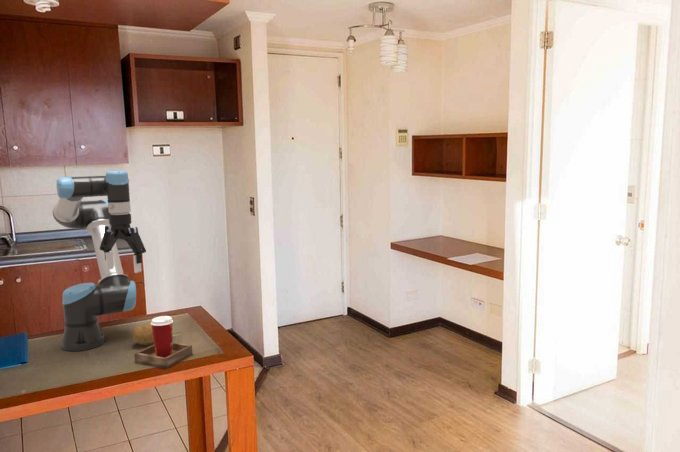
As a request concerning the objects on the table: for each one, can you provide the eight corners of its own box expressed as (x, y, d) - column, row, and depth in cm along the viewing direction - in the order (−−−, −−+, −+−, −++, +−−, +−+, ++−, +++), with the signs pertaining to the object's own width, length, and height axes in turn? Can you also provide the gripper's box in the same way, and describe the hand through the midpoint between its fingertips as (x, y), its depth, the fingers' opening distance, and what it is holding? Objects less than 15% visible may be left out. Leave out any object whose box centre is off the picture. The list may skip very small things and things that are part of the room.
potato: (174, 341, 214) (172, 321, 213) (140, 351, 204) (138, 330, 203) (161, 335, 221) (160, 316, 220) (128, 345, 211) (126, 325, 209)
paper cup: (179, 355, 197) (177, 317, 195) (161, 361, 191) (159, 323, 189) (166, 350, 202) (164, 314, 199) (148, 357, 195) (145, 319, 193)
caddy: (135, 362, 193) (134, 353, 192) (162, 349, 206) (162, 340, 205) (165, 368, 187) (165, 359, 187) (192, 354, 200) (192, 345, 199)
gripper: (86, 213, 199) (91, 270, 202) (138, 216, 189) (142, 275, 192) (102, 211, 206) (107, 266, 209) (153, 213, 196) (157, 271, 199)
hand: (124, 270), depth 201 cm, fingers open, 13 cm apart
